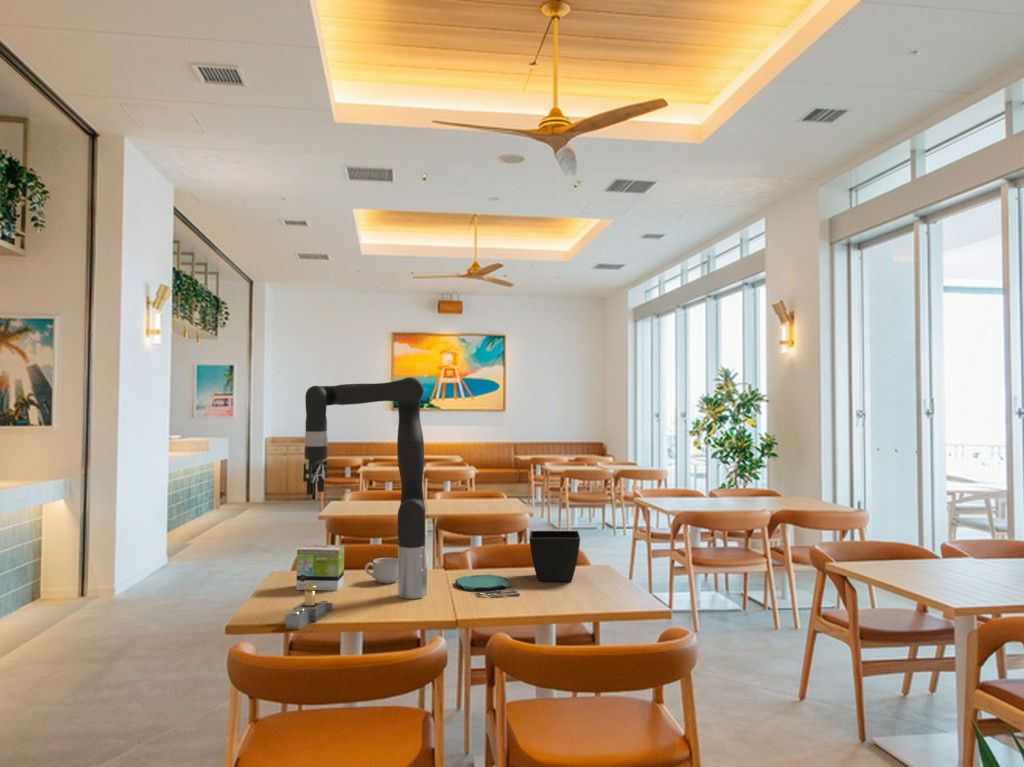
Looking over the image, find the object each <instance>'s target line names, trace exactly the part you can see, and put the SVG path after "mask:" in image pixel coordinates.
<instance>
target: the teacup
mask: <svg viewBox="0 0 1024 767" xmlns="http://www.w3.org/2000/svg"><path fill="white" fill-rule="evenodd" d="M372 561H373V562H368V563H366V564H365V567H364V572H366V574H367V575H369V576H371V578H373V579H375V580H376V581H377V582H378V583H379V584H394V583H395V582H398V558H396V557H395V558H394V557H379V558H375V559H373V560H372ZM369 566H370V567H372V572H370V571H369Z"/></svg>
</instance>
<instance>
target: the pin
mask: <svg viewBox="0 0 1024 767" xmlns="http://www.w3.org/2000/svg"><path fill="white" fill-rule="evenodd" d="M315 589H316V585H314V584H309V585H304V590H303V591H304V602H305V607H315V602H316V590H315Z"/></svg>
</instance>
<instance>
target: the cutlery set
mask: <svg viewBox="0 0 1024 767" xmlns="http://www.w3.org/2000/svg"><path fill="white" fill-rule="evenodd" d="M455 585H456V586H458V587H460V588H463V589H464V590H465V591H474V590H479V591H480V590H481V592H474V595H481V596H483V595H482V594H480V593H485V594H491V595H492V596H491V595H487V596H489V597H490V598H494V597H496V598H504V597H503V596H512V597H517V596H516V595H520V596H521V593H520V592H518V591H517V590H515V589H514V588H513V589H509V590H507V589H508V588H509V587H510V586H511V581H510V580H509V578H507V577H504V576H502V575H497V574H480V575H479V574H478V575H477V574H476V575H469V576H467V575H463V576H460V577H457V578H456V579H455ZM503 587H505V588H507V589H506V590H499V588H503ZM495 589H498V590H495ZM483 590H492V591H483ZM493 590H494V591H493ZM492 592H495V593H492ZM496 592H497V593H496ZM498 592H500V593H498ZM494 594H499V595H494ZM503 594H504V595H503ZM494 599H495V598H494Z"/></svg>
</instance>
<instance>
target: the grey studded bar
mask: <svg viewBox="0 0 1024 767" xmlns="http://www.w3.org/2000/svg"><path fill="white" fill-rule="evenodd" d="M331 610H333V603H332V602H328V600H322V601H319V602H316V601H315V607H305V601H303V602H302V603H300V604H298V605H297V606H295V607H293V610H292V611H290V612H288V613H287V614H285V629H286V630H301V629H304V628H305V627H306V626H307V624H308V623H309V622H311V621H317V622H319V621H320V620H322V619H324V618H325V617H326V616H327V613H328V612H330V611H331ZM321 618H322V619H321ZM318 620H319V621H318ZM311 623H312V622H311ZM309 624H310V623H309ZM309 624H308V625H309Z"/></svg>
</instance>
